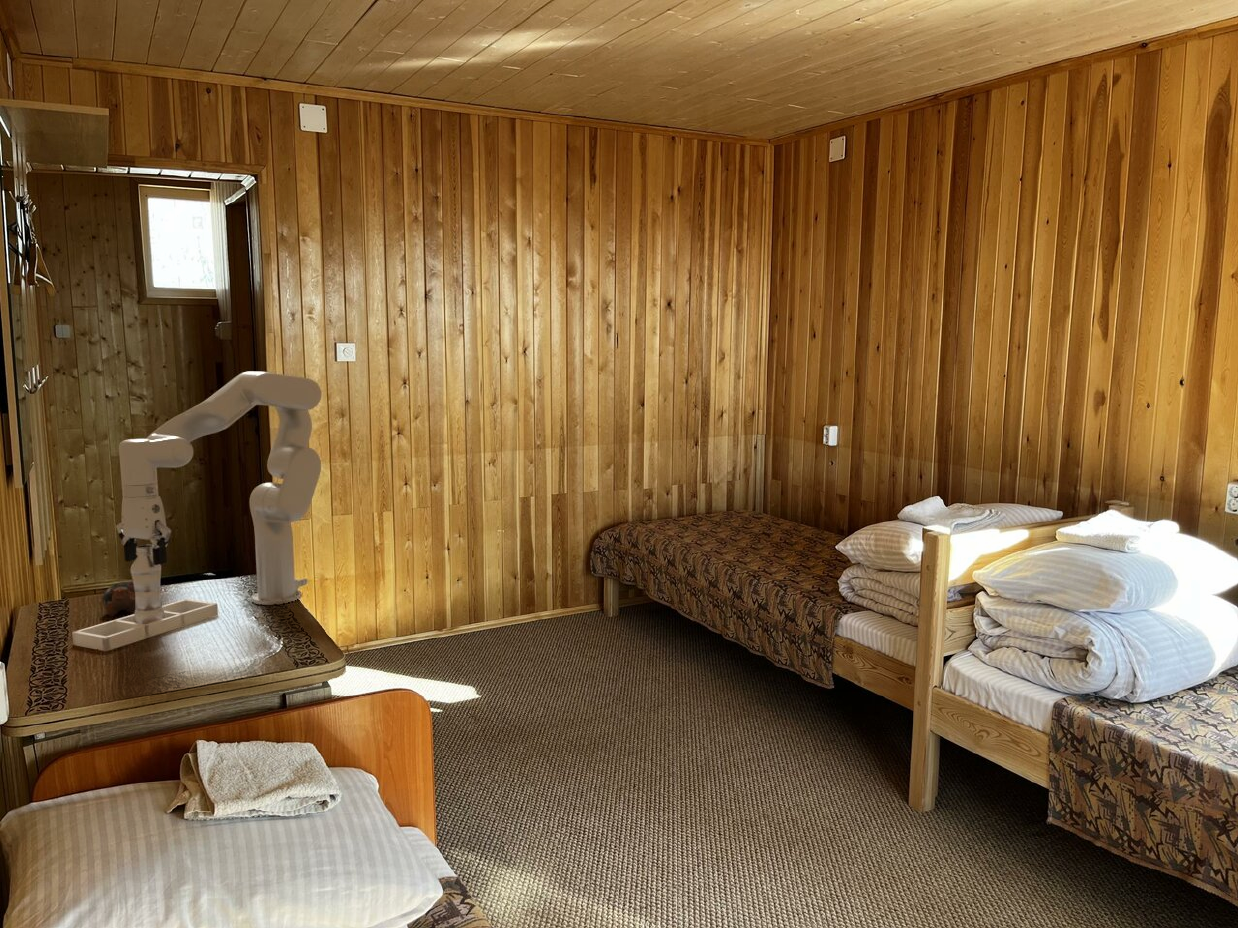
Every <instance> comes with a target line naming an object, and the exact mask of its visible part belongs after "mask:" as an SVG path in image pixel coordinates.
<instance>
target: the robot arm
mask: <svg viewBox="0 0 1238 928" xmlns="http://www.w3.org/2000/svg"><path fill="white" fill-rule="evenodd" d="M321 400H322V389H321V387H320V386H319V384H318V383H317V382H316V381H314V380H313V379H311V378H308V377H303V376H302V377H301V376H294V375H287V374H279V373H275V372H268V371H245V372H244V371H243V372H241V373H239V374H238V375H236V376H235V377H234V378H232V379H230V381H228V382H227V383H226V384H224V385H223V386H222V387H221V388H220V389H218V390H217V391H215V392H214V393H212V395H211V396H209V397H207V399H205V400H204V401H202V402H200V403H199V404H197V405H194V406H193V407H191V408H189V409H188V410H185V411H184V412H181V413H180V414H178V415H176V416H173V417H172V418H171V419H169V420H168V421H166V422H165V423H163V424H162V425H161V426H159V427H158V428H156V430H154V431H153V432H151V433H150V434H149V435H148V436H147V437H146V438H130V439H125V440H122V441H121V442H120V443H119V444H118V454H119V465H120V466H119V467H120V477H121V490H122V492H121V493H122V499H121V501H122V502H121V522H119V523H117V525H115V529H116V530H117V533H118V537H119V539H120V540H121V545H123V554H124V561H125V562H131V561H135V559H136V558H137V555H136V547H137V546H138V543H137V542H136V541H137V540H145V541H150V542H151V545H153V549H152V551H153V564H154V565H159V564H160V565H161V564H162V565H163V564H166V563H167V560H168V559H167V546H168V543H169V541H170V537H171V533H172V529H171V528H169V527H168V526H167V522H166V513H165V508H164V504H163V501H162V498H161V496H159V484H158V472H157V468H181V467H183V466H185V465H187V464H189V463H190V461H191V460H192V458H193V457H194V448H193V445H192V443H191V442H192V441H194V440H197V439H199V438H202V437H204V436H207V435H212V434H217V433H219V432H221V431H224V430H226V429H228V428H229V427H231V426H232V425H233V424H234V423H235V422H236V421H237V420H239V419H240V418H242V417H243V416H244V415H245V414H246V413H248V412H249V411H250V410H251V409H252V408H254V407H255V406H269V407H274V408H275V410H276V412H277V415H278V428H277V432H276V435H275V438H274V440H273V444H272V447H271V449H270V452H269V455H268V459H267V462H266V463H267V464H266V466H267V468H266V469H267V471H268V473H269V474H270V475H271V476H273V477H274V478H277V479H280V480H282V481H281V483H278V482H265V483H264V482H263V483H261V484H259V485H258V486H256V487H255V488H254V489H253V490H252V491H251V494H250V495H249V496H250V497H249V510H250V514H251V518H252V522H253V527H254V528H253V529H254V542H255V543H254V544H255V545H254V547H255V563H256V565H255V568H256V586H257V593H254V594H253V595H252V596H251V602H254V603H253V604H256V605H261V604H262V606H263V605H264V606H265V605H266V606H274V604H277V605H283V603H285V604H289V603H288V602H290V603H292V602H291V601H293V602H296V601H298V600H301V598H303V597H302V596H303V593H302V591H301V590H299V588H300V587H303V586H306V585H307V584H308V579H307V578H306V577H303V578H300V579H297V578H296V576H295V575H296V574H295V573H296V572H295V555H294V554H295V553H294V535H293V533H294V532H293V527H292V524H291V523H295V522H297V521H300V520H301V519H303V518H304V516H306V515H307V512H308V511H309V509H310V507H311V504H312V501H313V498H314V494H315V491H316V488H317V485H318V482H319V479H320V476H321V472H322V462H321V461H322V460H321V457H320V455H319V454H318V452H317V451H316V450H315V449H314V448H312V447H310V446H309V443H310V438H311V435H312V429H313V423H312V418H311V414H310V412H309V410H313V409H315V408H316V407H317V406H318V405H319V404H320V403H321ZM295 595H296V597H297V599H298V600H297V599H296V597H295ZM295 600H296V601H295Z"/></svg>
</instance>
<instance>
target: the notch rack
mask: <svg viewBox="0 0 1238 928" xmlns="http://www.w3.org/2000/svg"><path fill="white" fill-rule="evenodd" d="M162 607H163V609H164V613H165V619H161V620H158V621H155V622H152V623H148V624H140V623H135V621H134V614H130V615H127V616H123V617H119V618H116V619H113V620H109V621H105V622H102V623H99V624H95V625H93V626H89V627H86V628H82V629H79V630H78V629H77V630H75V631H72V634H71V636H72V645H73V646H77V647H81V648H88V649H92V650H93V649H94V650H97V649H98V650H97V651H102V652H108V651H111V650H115V649H117V648H121V647H124V646H127V645H130V644H133V643H136V642H139V641H142V640H145V639H147V638H151V637H155V636H158V635H161V634H164V633H167V632H170V631H173V630H176V629H179V628H182V627H185V626H189V625H192V624H196V623H198V622H201V621H205V620H208V619H210V618H213V617H217V616H219V610H218V603H217V602H216V603H215V602H208V601H202V600H196V599H189V598H185V599H181V600H177V601H174V602H171V603H168V604H163V605H162ZM204 619H205V620H204Z"/></svg>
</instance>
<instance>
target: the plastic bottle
mask: <svg viewBox="0 0 1238 928" xmlns="http://www.w3.org/2000/svg"><path fill="white" fill-rule="evenodd" d="M153 548H154V546H153V544H141V545H137V547H136V555H137V558H136V559H135V560H133V562H132V564H131V566H130V574H131V578H132V583H134V589H135V596H136V597H135V609H136V610H135V613H134V621H135V623H140V624H148V623H152V622H155V621H158V620H161V619H165V613H164V609H163V607H162V606H163V602H162V595H161V576H162V565H161V564H159V565H154V564H153V551H152V549H153Z"/></svg>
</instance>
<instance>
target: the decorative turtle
mask: <svg viewBox="0 0 1238 928" xmlns="http://www.w3.org/2000/svg"><path fill="white" fill-rule="evenodd" d="M135 597H136V596H135V589H134V583H133V582H131V581H122V582H117V583H115V584H113V585H111V586H110V587H108V588H107V589H106V590H105V591H104V592H103V595H102V597H101V602H102V604H103V607H104V609H105V611H106V613H107V615H108V616H110V617H114V616H116V615H117V614H118V613H119V612H120V611H122V610H123V611H126V612H127V613H129V614H130V615H133V614H134V613H135V610H136V609H135Z"/></svg>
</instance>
